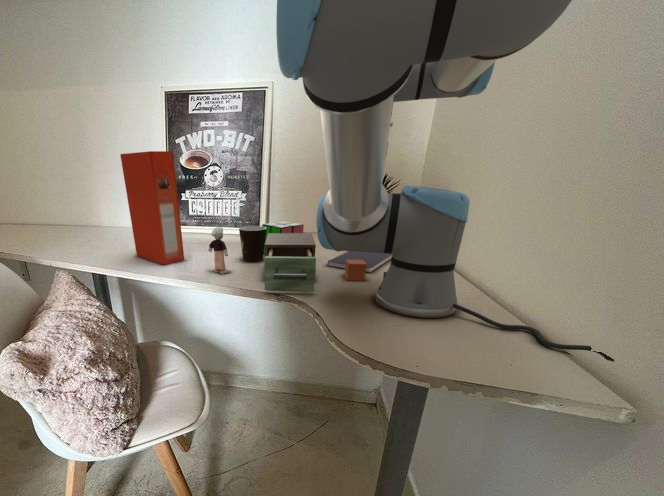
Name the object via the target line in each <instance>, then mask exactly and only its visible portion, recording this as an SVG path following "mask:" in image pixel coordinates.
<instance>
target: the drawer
mask: <svg viewBox="0 0 664 496" xmlns="http://www.w3.org/2000/svg"><path fill="white" fill-rule="evenodd" d="M316 266H317V257H316V256H315V257H312V254H311V251H310V248H270V251H269V256H265V255H264V291H282V292H283V291H285V292H286V291H289V292H314V291H315V283H316V282H315V279H316Z"/></svg>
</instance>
